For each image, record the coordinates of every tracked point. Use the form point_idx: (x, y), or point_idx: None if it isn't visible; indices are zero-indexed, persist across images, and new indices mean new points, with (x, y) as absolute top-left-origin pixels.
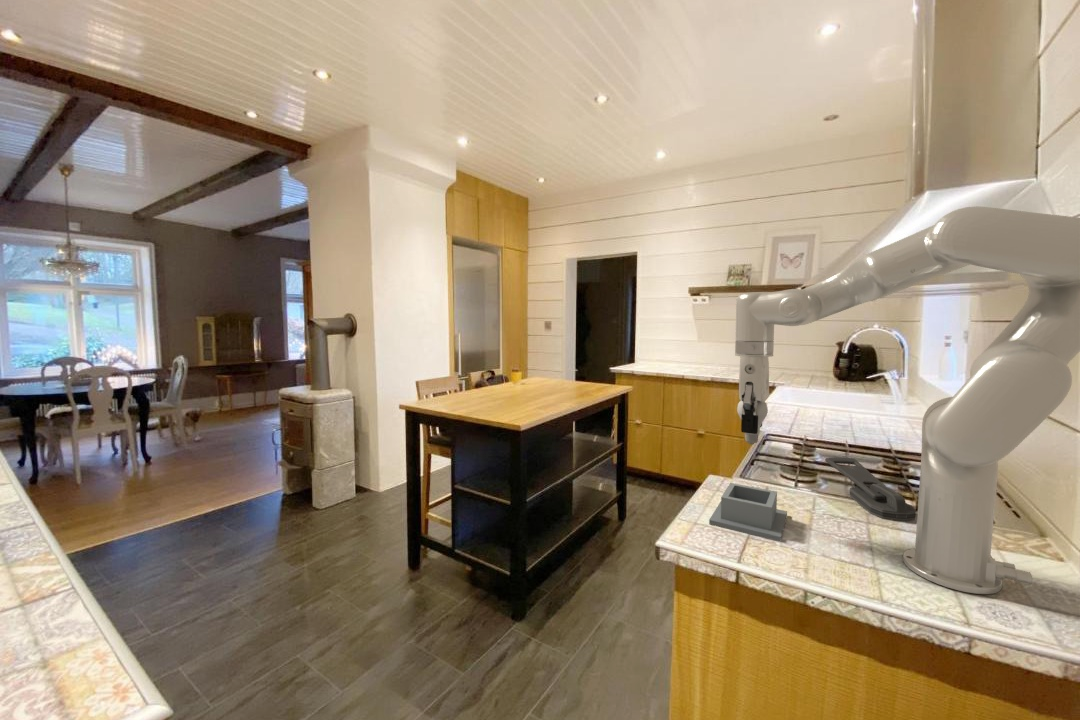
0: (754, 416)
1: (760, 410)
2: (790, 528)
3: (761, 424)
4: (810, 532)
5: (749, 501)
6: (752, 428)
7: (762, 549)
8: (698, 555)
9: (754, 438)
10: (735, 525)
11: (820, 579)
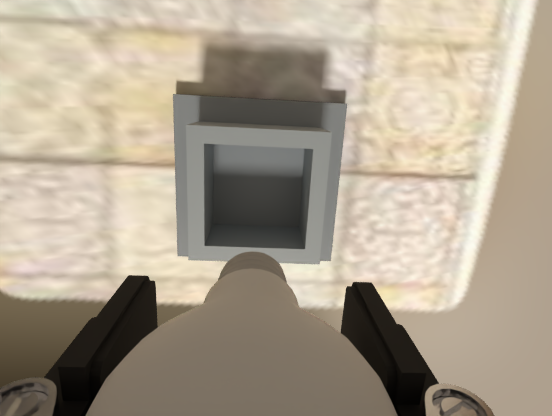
0: (416, 391)
1: (380, 399)
2: (255, 83)
3: (141, 285)
4: (254, 34)
5: (314, 193)
6: (401, 328)
7: (399, 138)
8: (476, 248)
9: (281, 275)
10: (332, 205)
11: (483, 18)
